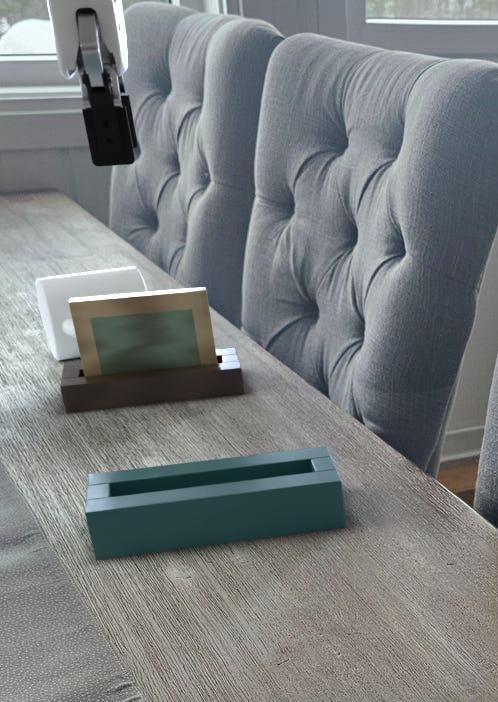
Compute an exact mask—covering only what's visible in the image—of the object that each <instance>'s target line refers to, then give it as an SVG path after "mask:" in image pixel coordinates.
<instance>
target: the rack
mask: <svg viewBox="0 0 498 702" xmlns="http://www.w3.org/2000/svg"><path fill="white" fill-rule="evenodd" d="M215 349H216V356H217V362H218V363H216V364H206V365H196V366H186V367H176V368H166V369H156V370H147V371H137V372H127V373H117V374H107V375H97V376H87V377H85V375H84V371H83V366H82V362H76V363H74V362H73V363H72V362H71V363H65V364H64V363H63V367H62V374H61V379H60V386H59V387H60V392H61V396H62V402H63V405H64V410H65V413H66V414H71V413H73V414H74V413H80V412H90V411H91V412H93V411H99V410H100V411H101V410H111V409H118V408H127V407H128V408H130V407H137V406H138V407H139V406H146V405H147V406H148V405H155V404H157V405H158V404H165V403H173V402H175V403H176V402H184V401H185V402H186V401H195V400H203V399H212V398H222V397H232V396H241V395H246V391H245V389H246V388H245V384H244V375H243V370H242V369H243V368H242V366H241V361H240V358H239V355H238V352H237V348H236V347H235V346H234V347H226V348H215Z"/></svg>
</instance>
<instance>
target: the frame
mask: <svg viewBox="0 0 498 702" xmlns="http://www.w3.org/2000/svg"><path fill="white" fill-rule="evenodd" d="M206 287H207V286H200V287H199V286H198V287H187V288H177V289H166V290H153V291H148V292H141V293H130V294H118V295H107V296H95V297H84V298H72V299H69V307H70V311H71V316H72V320H73V325H74V330H75V334H76V339H77V343H78V348H79V352H80V357H79V358H80V363H82V366H83V371H84V375H85V377H87V376H97V375H107V374H117V373H127V372H137V371H147V370H156V369H166V368H176V367H186V366H196V365H206V364H216V363H218V362H217V356H216V349H217V348H216V342H215V337H214V329H213V323H212V318H211V317H212V315H211V311H210V304H209V297H208V291H207V288H206Z"/></svg>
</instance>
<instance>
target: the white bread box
mask: <svg viewBox="0 0 498 702" xmlns="http://www.w3.org/2000/svg"><path fill="white" fill-rule="evenodd" d="M34 283H35V284H34V285H35V294H36V300H37V305H38V309H39V314H40V318H41V322H42V325H43V329H44V333H45V336H46V339H47V343H48V346H49V349H50V351H51V353H52V355H53V357H54V359H55V360H56V361H65V360H71V359H77V358H81V357H80V352H79V348H78V343H77V339H76V334H75V330H74V325H73V320H72V316H71V311H70V307H69V299H72V298H84V297H95V296H107V295H118V294H130V293H141V292H149V291H148V288H147V285H146V282H145V280H144V277H143V275H142V272H141V271H140V270H139V269H138V268H137V266H135V265H133V266H126V267H125V266H124V267H118V268H110V269H102V270H95V271H94V270H93V271H87V272H85V271H84V272H78V273H71V274H64V275H63V274H62V275H55V276H47V277H40V278H36V279H35V282H34Z"/></svg>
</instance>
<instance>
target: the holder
mask: <svg viewBox="0 0 498 702" xmlns="http://www.w3.org/2000/svg"><path fill="white" fill-rule="evenodd" d="M86 483H87V484H86V496H85V506H84V507H85V509H84V515H85V519H86V524H87V528H88V533H89V537H90V541H91V545H92V549H93V554H94V559H95V560H96V561H99V560H106V559H107V560H108V559H114V558H116V559H117V558H122V557H130V556H137V555H138V556H139V555H145V554H152V553H159V552H167V551H175V550H182V549H190V548H198V547H204V546H205V547H206V546H213V545H221V544H227V543H234V542H235V543H236V542H241V541H249V540H256V539H257V540H258V539H264V538H272V537H279V536H288V535H294V534H303V533H310V532H317V531H324V530H332V529H339V528H346V527H347V525H346V524H347V523H346V513H345V502H344V493H343V481H342V479H341V477H340V475H339V472H338V469H337V468H336V465H335V462H334V460H333V458H332V456H331V453H330V450H329V448H328V446H326V445H324V446H316V447H307V448H300V449H291V450H283V451H282V450H281V451H274V452H265V453H264V452H263V453H257V454H248V455H240V456H232V457H224V458H214V459H206V460H198V461H190V462H189V461H188V462H181V463H180V462H179V463H172V464H165V465H164V464H163V465H156V466H148V467H147V466H146V467H138V468H130V469H122V470H113V471H104V472H96V473H88V474H87V482H86Z"/></svg>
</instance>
